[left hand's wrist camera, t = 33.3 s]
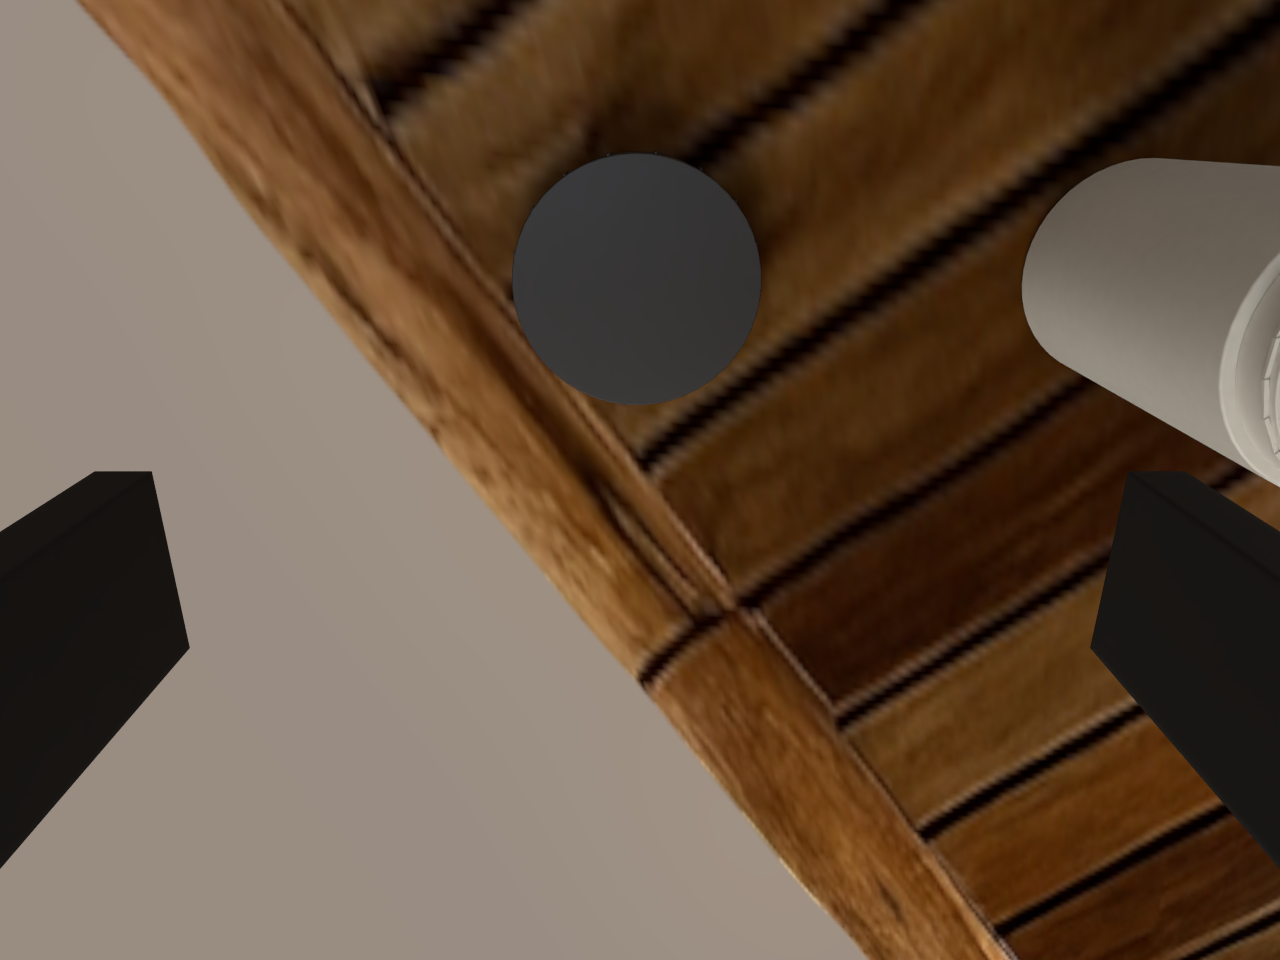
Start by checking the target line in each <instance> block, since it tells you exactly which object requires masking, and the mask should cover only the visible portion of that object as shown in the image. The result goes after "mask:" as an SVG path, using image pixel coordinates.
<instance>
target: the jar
mask: <svg viewBox="0 0 1280 960" xmlns="http://www.w3.org/2000/svg"><path fill="white" fill-rule="evenodd" d="M1022 299H1023V305H1024V311H1025V315H1026V318H1027V321H1028V324H1029V326H1030V328H1031V330H1032V332H1033V334H1034V336H1035V337H1036V339H1037V340H1038V342H1039V343H1040V345H1041V346H1042V347H1043V348H1044V349H1045V350H1046V351H1047V352H1048V353H1049V354H1050V355H1051V356H1052V357H1054V358H1055V359H1056V360H1058V361H1059V362H1061V363H1062V364H1064V365H1066V366H1068V367H1069V368H1071V369H1073V370H1075V371H1076V372H1078V373H1080V374H1082V375H1083V376H1085V377H1087V378H1089V379H1090V380H1092V381H1094V382H1096V383H1097V384H1099V385H1101V386H1103V387H1104V388H1106V389H1108V390H1110V391H1111V392H1113V393H1115V394H1117V395H1118V396H1120V397H1122V398H1124V399H1126V400H1127V401H1129V402H1131V403H1133V404H1134V405H1136V406H1138V407H1140V408H1141V409H1143V410H1145V411H1147V412H1148V413H1150V414H1152V415H1154V416H1155V417H1157V418H1159V419H1161V420H1162V421H1164V422H1166V423H1168V424H1169V425H1171V426H1173V427H1175V428H1176V429H1178V430H1180V431H1182V432H1183V433H1185V434H1187V435H1189V436H1191V437H1192V438H1194V439H1196V440H1198V441H1199V442H1201V443H1203V444H1205V445H1206V446H1208V447H1210V448H1212V449H1213V450H1215V451H1217V452H1219V453H1220V454H1222V455H1224V456H1226V457H1227V458H1229V459H1231V460H1233V461H1234V462H1236V463H1238V464H1240V465H1241V466H1243V467H1245V468H1247V469H1248V470H1250V471H1252V472H1254V473H1256V474H1257V475H1259V476H1261V477H1263V478H1264V479H1266V480H1268V481H1270V482H1271V483H1273V484H1275V485H1277V486H1279V487H1280V166H1267V165H1252V164H1237V163H1223V162H1208V161H1193V160H1178V159H1163V158H1144V159H1136V160H1131V161H1125V162H1122V163H1119V164H1116V165H1113V166H1110V167H1108V168H1105V169H1103V170H1101V171H1099V172H1097V173H1095V174H1093V175H1092V176H1090V177H1088V178H1087V179H1085V180H1083V181H1082V182H1081V183H1079V184H1078V185H1077V186H1075V187H1074V188H1073V189H1071V190H1070V191H1069V192H1068V193H1067V194H1066V195H1065V196H1064V197H1063V198H1062V199H1061V200H1060V201H1059V202H1058V203H1057V204H1056V205H1055V206H1054V208H1053V209H1052V210H1051V211H1050V212H1049V214H1048V215H1047V216H1046V218H1045V219H1044V221H1043V222H1042V224H1041V225H1040V227H1039V229H1038V231H1037V233H1036V235H1035V237H1034V239H1033V241H1032V243H1031V246H1030V248H1029V251H1028V254H1027V257H1026V261H1025V266H1024V270H1023V279H1022Z"/></svg>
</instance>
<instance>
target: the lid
mask: <svg viewBox="0 0 1280 960" xmlns="http://www.w3.org/2000/svg"><path fill="white" fill-rule="evenodd" d="M606 155H607V156H603V157H600V158H597V159H595V160H592V161H590V162H587V163H585V164H583V165H582V166H580V167H578V168H576V169H574V170H573V171H571V172H570V173H569V172H568V171H567V172H566V173H564V174H563V176H564V177H563V178H562V179H560V180H559V181H558V182H556V183H555V184H554V185H553V186H552V187H551V188H550V189H549V190H548V191H547V192H546V193H545V194H544V195H543V196H542V198H541V199H540V200H539V202H538V203H537V204H536V205H535V206H533V207H532V208H531V213H530V215H529V217H528V218H527V220H526V222H525V224H524V226H523V229H522V231H521V234H520V236H519V239H518V242H517V246H516V250H515V251H514V261H513V269H512V289H513V297H514V298H513V300H514V304H515V308H516V311H517V315H518V319H519V322H520V324H521V326H522V329H523V331H524V334H525V336H526V338H527V339H528V341H529V343H530V345H531V346H532V348H533V350H534V351H535V352H536V353H537V355H538V356H539V357H540V359H541V360H542V361H543V362H544V364H545V365H546V366H547V367H548V368H549V369H550V370H551V371H552V372H553V373H554V374H556V375H557V376H558V377H559V378H561V379H562V380H563V381H564V382H566V383H567V384H569V385H571V386H572V387H574V388H576V389H577V390H579V391H581V392H583V393H585V394H588V395H590V396H592V397H595V398H598V399H601V400H604V401H608V402H613V403H619V404H628V405H645V404H656V403H661V402H665V401H670V400H673V399H676V398H679V397H682V396H684V395H686V394H689V393H691V392H693V391H695V390H697V389H699V388H700V387H702V386H703V385H705V384H706V383H708V382H709V381H711V380H712V379H713V378H714V377H716V376H717V375H718V374H719V373H720V372H721V371H722V370H724V369H725V367H726V366H727V365H728V364H729V363H730V362H731V361H732V360H733V359H734V357H735V356H736V354H737V353H738V352H739V350H740V349H741V347H742V346H743V344H744V342H745V340H746V338H747V336H748V335H749V333H750V331H751V328H752V325H753V323H754V320H755V317H756V314H757V310H758V305H759V301H760V292H761V264H760V259H759V253H758V248H757V246H758V243H757V242H756V241H755V238H754V235H753V232H752V230H751V228H750V226H749V224H748V222H747V219H746V218H745V216H744V214H743V213H742V211H741V210H740V208H739V206H738V205H737V204H736V203H738V202H737V200H736V199H734V198H733V197H732V198H731V196H730V195H729V194H728V193H727V192H726V191H725V190H724V189H723V188H722V187H721V186H720V185H719V184H718V183H717V182H715V181H714V180H713V179H712V178H711V177H709V176H708V175H706V174H705V173H703V172H702V170H703V169H702V168H700V167H699V166H698V167H697V168H696V167H694V166H692V165H690V164H688V163H686V162H684V161H682V160H679V159H676V158H673V157H670V156H667V155H662V154H657V151H654V153H652V152H635V151H634V152H623V153H616V154H611V153H610V152H609V153H607V154H606Z"/></svg>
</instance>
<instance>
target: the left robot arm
mask: <svg viewBox="0 0 1280 960" xmlns="http://www.w3.org/2000/svg"><path fill="white" fill-rule="evenodd" d="M189 648H190V647H189V642H188V638H187V633H186V629H185V624H184V619H183V615H182V610H181V605H180V601H179V596H178V591H177V587H176V582H175V577H174V573H173V568H172V563H171V559H170V554H169V550H168V545H167V540H166V536H165V531H164V526H163V522H162V517H161V512H160V508H159V503H158V498H157V494H156V490H155V484H154V480H153V475H152V472H151V471H100V472H99V471H95V472H93V473H92V474H90V475H88V476H87V477H85V478H84V479H82V480H81V481H79V482H77V483H76V484H74V485H73V486H71V487H70V488H68V489H67V490H65V491H63V492H62V493H60V494H59V495H57V496H56V497H54V498H52V499H51V500H49V501H48V502H46V503H45V504H43V505H41V506H40V507H38V508H37V509H35V510H34V511H32V512H31V513H29V514H27V515H26V516H24V517H23V518H21V519H20V520H18V521H16V522H15V523H13V524H12V525H10V526H9V527H7V528H5V529H4V530H2V531H1V532H0V868H1V867H2V866H3V865H4V864H5V863H6V861H7V860H8V859H9V858H10V857H11V856H12V854H13V853H14V852H15V851H16V850H17V849H18V847H19V846H20V845H21V844H22V843H23V842H24V840H25V839H26V838H27V837H28V836H29V835H30V833H31V832H32V831H33V830H34V829H35V828H36V826H37V825H38V824H39V823H40V822H41V821H42V819H43V818H44V817H45V816H46V815H47V814H48V812H49V811H50V810H51V809H52V808H53V807H54V805H55V804H56V803H57V802H58V801H59V800H60V798H61V797H62V796H63V795H64V794H65V793H66V791H67V790H68V789H69V788H70V787H71V786H72V785H73V783H74V782H75V781H76V780H77V779H78V778H79V776H80V775H81V774H82V773H83V772H84V770H85V769H86V768H87V767H88V766H89V765H90V764H91V762H92V761H93V760H94V759H95V758H96V756H97V755H98V754H99V753H100V752H101V751H102V750H103V748H104V747H105V746H106V745H107V744H108V742H109V741H110V740H111V739H112V738H113V737H114V736H115V734H116V733H117V732H118V731H119V730H120V729H121V727H122V726H123V725H124V724H125V723H126V721H127V720H128V719H129V718H130V717H131V716H132V715H133V713H134V712H135V711H136V710H137V709H138V708H139V706H140V705H141V704H142V703H143V702H144V701H145V699H146V698H147V697H148V696H149V695H150V694H151V692H152V691H153V690H154V689H155V688H156V687H157V685H158V684H159V683H160V682H161V681H162V680H163V678H164V677H165V676H166V675H167V674H168V673H169V671H170V670H171V669H172V668H173V667H174V666H175V664H176V663H177V662H178V661H179V660H180V659H181V657H182V656H183V655H184V654H185V653H186V652H187V650H188V649H189ZM1090 648H1091V649H1092V650H1093V652H1094V653H1095V654H1096V655H1097V656H1098V657H1099V659H1100V660H1101V661H1102V662H1103V663H1104V664H1105V666H1106V667H1107V668H1108V669H1109V670H1110V671H1111V673H1112V674H1113V675H1114V676H1115V677H1116V678H1117V680H1118V681H1119V682H1120V683H1121V684H1122V685H1123V687H1124V688H1125V689H1126V690H1127V691H1128V692H1129V694H1130V695H1131V696H1132V697H1133V698H1134V699H1135V701H1136V702H1137V703H1138V704H1139V705H1140V706H1141V708H1142V709H1143V710H1144V711H1145V712H1146V713H1147V715H1148V716H1149V717H1150V718H1151V719H1152V720H1153V722H1154V723H1155V724H1156V725H1157V726H1158V727H1159V729H1160V730H1161V731H1162V732H1163V733H1164V734H1165V736H1166V737H1167V738H1168V739H1169V740H1170V741H1171V743H1172V744H1173V745H1174V746H1175V747H1176V748H1177V750H1178V751H1179V752H1180V753H1181V754H1182V755H1183V757H1184V758H1185V759H1186V760H1187V761H1188V762H1189V764H1190V765H1191V766H1192V767H1193V768H1194V769H1195V771H1196V772H1197V773H1198V774H1199V775H1200V776H1201V778H1202V779H1203V780H1204V781H1205V782H1206V783H1207V785H1208V786H1209V787H1210V788H1211V789H1212V790H1213V791H1214V793H1215V794H1216V795H1217V796H1218V797H1219V798H1220V800H1221V801H1222V802H1223V803H1224V804H1225V805H1226V807H1227V808H1228V809H1229V810H1230V811H1231V812H1232V814H1233V815H1234V816H1235V817H1236V818H1237V819H1238V821H1239V822H1240V823H1241V824H1242V825H1243V826H1244V828H1245V829H1246V830H1247V831H1248V832H1249V833H1250V835H1251V836H1252V837H1253V838H1254V839H1255V840H1256V842H1257V843H1258V844H1259V845H1260V846H1261V847H1262V849H1263V850H1264V851H1265V852H1266V853H1267V854H1268V856H1269V857H1270V858H1271V859H1272V860H1273V861H1274V863H1275V864H1276V865H1277V866H1278V867H1279V868H1280V532H1279V531H1278V530H1276V529H1275V528H1273V527H1271V526H1270V525H1268V524H1267V523H1265V522H1264V521H1262V520H1260V519H1259V518H1257V517H1256V516H1254V515H1253V514H1251V513H1250V512H1248V511H1246V510H1245V509H1243V508H1242V507H1240V506H1239V505H1237V504H1235V503H1234V502H1232V501H1231V500H1229V499H1228V498H1226V497H1224V496H1223V495H1221V494H1220V493H1218V492H1217V491H1215V490H1214V489H1212V488H1210V487H1209V486H1207V485H1206V484H1204V483H1203V482H1201V481H1199V480H1198V479H1196V478H1195V477H1193V476H1192V475H1190V474H1188V473H1187V472H1185V471H1128V475H1127V480H1126V484H1125V489H1124V494H1123V498H1122V503H1121V508H1120V512H1119V517H1118V522H1117V526H1116V531H1115V536H1114V540H1113V545H1112V550H1111V554H1110V559H1109V563H1108V568H1107V573H1106V577H1105V582H1104V587H1103V591H1102V596H1101V601H1100V605H1099V610H1098V615H1097V619H1096V624H1095V628H1094V633H1093V638H1092V642H1091V647H1090Z"/></svg>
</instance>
